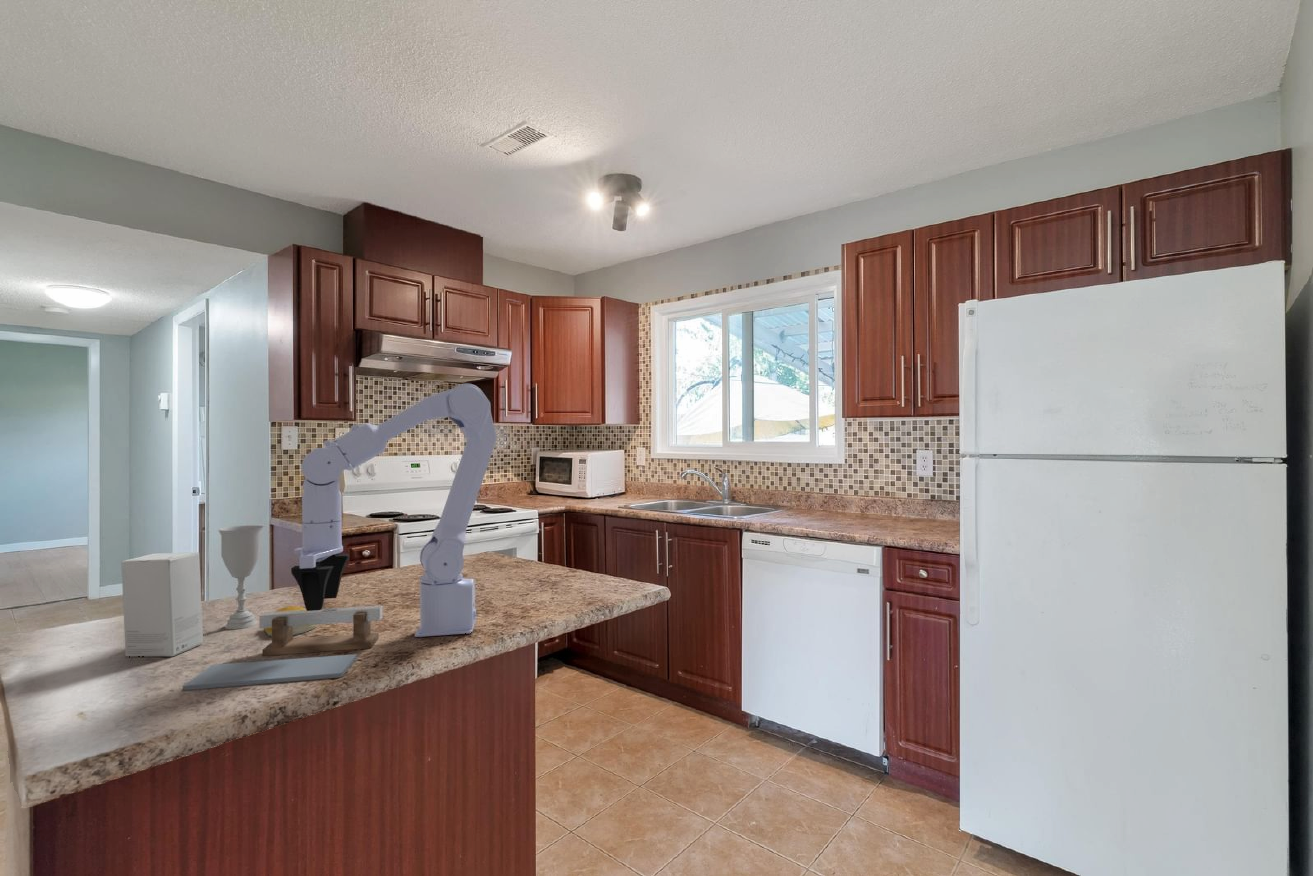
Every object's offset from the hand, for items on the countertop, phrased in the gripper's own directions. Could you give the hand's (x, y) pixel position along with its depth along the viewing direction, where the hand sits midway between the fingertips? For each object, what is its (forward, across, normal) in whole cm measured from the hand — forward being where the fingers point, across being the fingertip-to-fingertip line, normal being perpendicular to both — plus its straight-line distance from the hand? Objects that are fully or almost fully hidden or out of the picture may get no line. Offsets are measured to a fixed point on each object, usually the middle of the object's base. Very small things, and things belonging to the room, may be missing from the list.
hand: (322, 603), depth 100 cm
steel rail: (+3, 0, 0) cm, 3 cm away
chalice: (+7, -17, -19) cm, 26 cm away
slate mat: (+7, +11, -3) cm, 13 cm away
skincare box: (+7, -4, -25) cm, 26 cm away
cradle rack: (+7, 0, 0) cm, 7 cm away
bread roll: (+8, -12, -9) cm, 17 cm away
